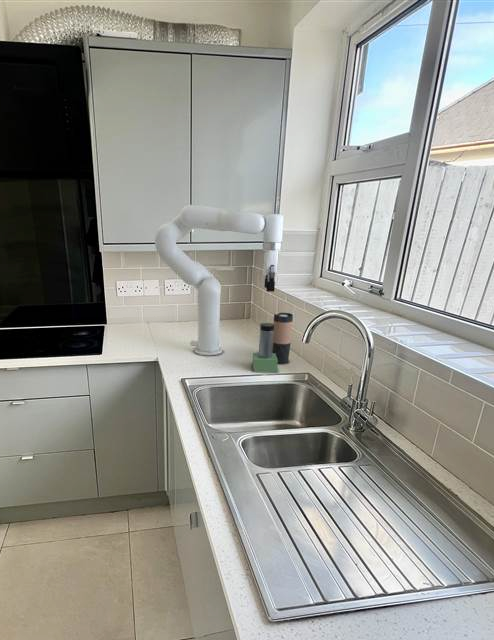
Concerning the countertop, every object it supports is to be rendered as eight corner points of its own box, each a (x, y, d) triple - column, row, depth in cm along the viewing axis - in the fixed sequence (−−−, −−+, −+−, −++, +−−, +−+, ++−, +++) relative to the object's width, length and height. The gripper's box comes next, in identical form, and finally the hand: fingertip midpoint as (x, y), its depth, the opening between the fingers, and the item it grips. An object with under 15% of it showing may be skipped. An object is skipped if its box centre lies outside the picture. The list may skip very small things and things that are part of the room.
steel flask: (256, 357, 161) (258, 325, 156) (260, 353, 165) (262, 322, 160) (270, 359, 158) (272, 326, 154) (273, 355, 163) (276, 323, 158)
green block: (253, 371, 160) (254, 359, 158) (252, 364, 168) (253, 352, 166) (276, 372, 159) (277, 360, 157) (274, 364, 167) (275, 353, 166)
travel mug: (288, 364, 167) (293, 317, 160) (270, 363, 169) (273, 316, 161) (288, 358, 174) (292, 312, 167) (270, 357, 176) (274, 312, 168)
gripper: (261, 245, 173) (258, 286, 179) (264, 248, 157) (261, 292, 163) (278, 245, 172) (275, 286, 179) (284, 248, 156) (280, 293, 163)
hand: (269, 289), depth 171 cm, fingers open, 9 cm apart
